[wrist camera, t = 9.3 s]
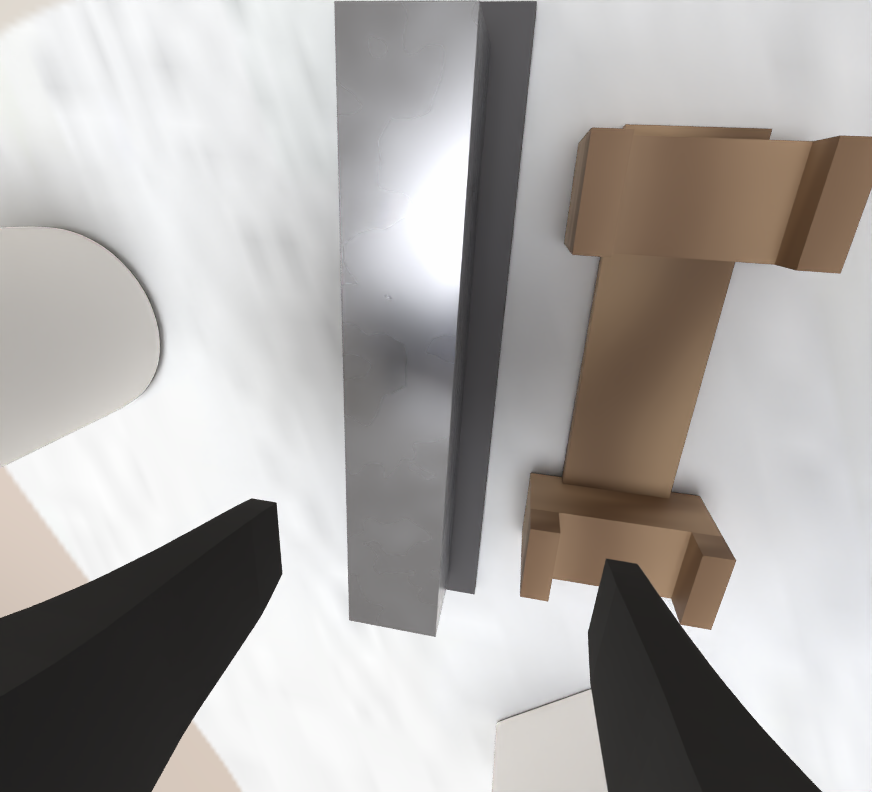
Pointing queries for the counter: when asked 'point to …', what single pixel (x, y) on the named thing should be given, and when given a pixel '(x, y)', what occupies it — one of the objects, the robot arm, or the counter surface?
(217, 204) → the counter surface
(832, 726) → the counter surface
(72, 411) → the pill bottle
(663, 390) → the stand
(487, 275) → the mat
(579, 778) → the milk
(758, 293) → the counter surface
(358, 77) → the rail
